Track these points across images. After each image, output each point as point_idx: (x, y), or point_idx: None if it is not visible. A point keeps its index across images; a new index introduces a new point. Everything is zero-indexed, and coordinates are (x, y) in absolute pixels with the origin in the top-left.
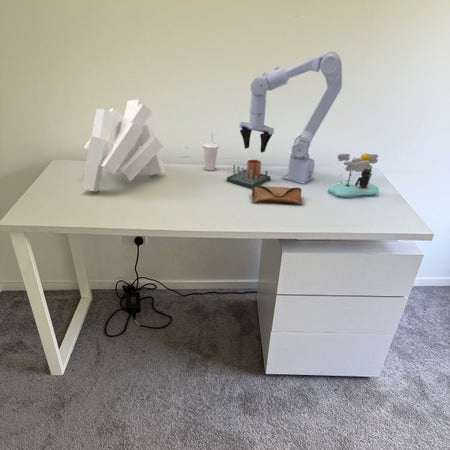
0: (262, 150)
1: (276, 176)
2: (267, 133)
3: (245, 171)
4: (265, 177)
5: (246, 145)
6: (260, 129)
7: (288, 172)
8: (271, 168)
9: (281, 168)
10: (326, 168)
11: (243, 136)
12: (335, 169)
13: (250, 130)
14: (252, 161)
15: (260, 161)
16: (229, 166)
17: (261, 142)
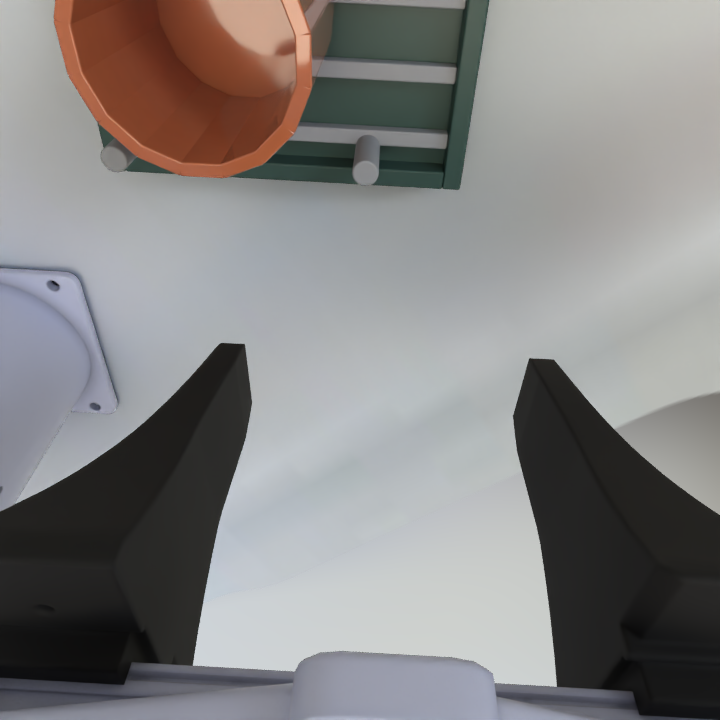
0: (206, 364)
1: (162, 284)
2: (6, 644)
3: (436, 138)
4: None
5: (538, 397)
6: (122, 711)
7: (31, 332)
8: (323, 414)
9: (264, 450)
10: None
11: (647, 490)
12: None
13: (571, 683)
14: (277, 123)
15: (130, 147)
16: (708, 244)
17: (177, 440)
